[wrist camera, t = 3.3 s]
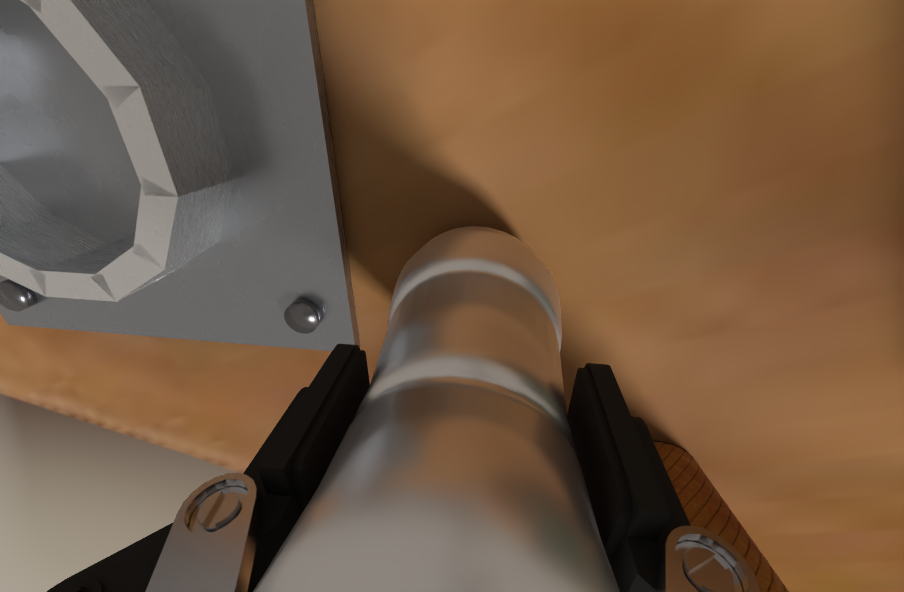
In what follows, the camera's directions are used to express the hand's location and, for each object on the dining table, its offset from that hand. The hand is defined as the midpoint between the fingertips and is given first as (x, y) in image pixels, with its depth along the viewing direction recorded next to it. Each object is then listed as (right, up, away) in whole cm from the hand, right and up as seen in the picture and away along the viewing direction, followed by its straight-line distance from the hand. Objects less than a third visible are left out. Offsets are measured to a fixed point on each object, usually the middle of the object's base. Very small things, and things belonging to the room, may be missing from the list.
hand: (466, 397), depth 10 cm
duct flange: (-15, +10, +5) cm, 18 cm away
